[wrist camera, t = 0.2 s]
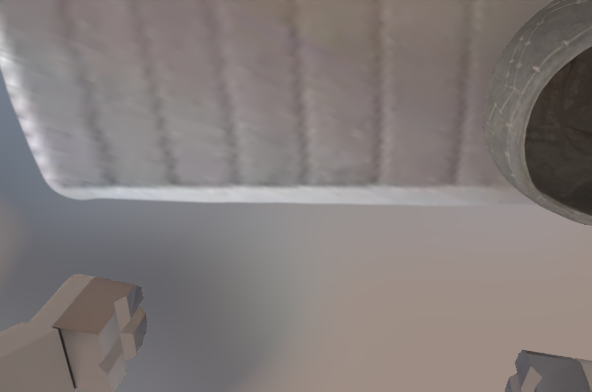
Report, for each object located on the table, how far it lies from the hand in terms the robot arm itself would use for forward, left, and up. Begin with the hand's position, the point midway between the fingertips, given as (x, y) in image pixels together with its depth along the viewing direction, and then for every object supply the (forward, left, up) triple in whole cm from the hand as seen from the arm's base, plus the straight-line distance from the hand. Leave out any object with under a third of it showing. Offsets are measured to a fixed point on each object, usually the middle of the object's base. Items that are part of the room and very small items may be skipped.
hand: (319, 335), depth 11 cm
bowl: (+6, +21, -48) cm, 53 cm away
